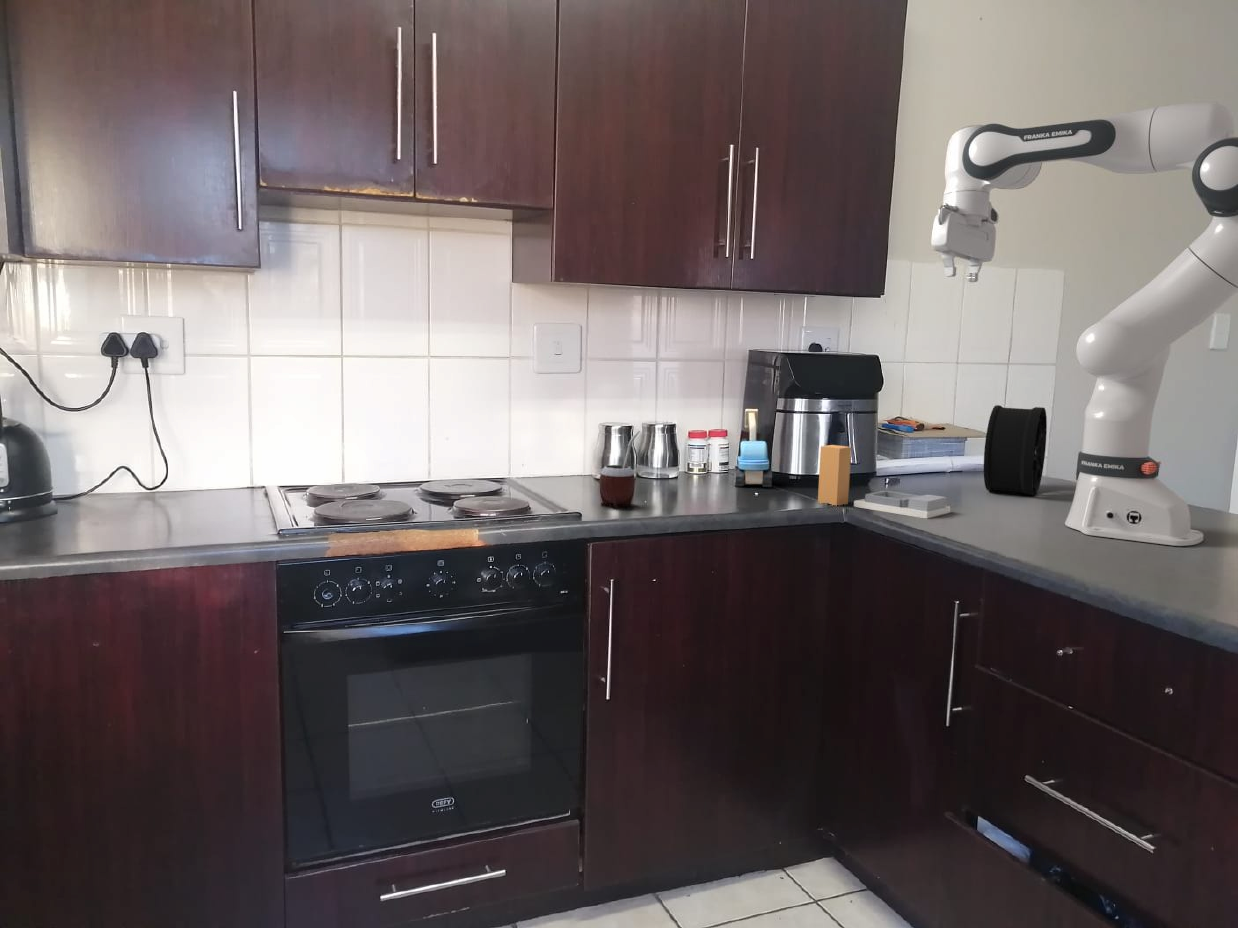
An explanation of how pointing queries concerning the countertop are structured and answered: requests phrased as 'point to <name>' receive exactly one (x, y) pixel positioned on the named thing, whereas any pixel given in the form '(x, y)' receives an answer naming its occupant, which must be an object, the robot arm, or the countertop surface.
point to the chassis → (904, 504)
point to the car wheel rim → (1015, 449)
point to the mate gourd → (618, 483)
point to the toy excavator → (753, 457)
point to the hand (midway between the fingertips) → (961, 279)
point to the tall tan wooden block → (834, 474)
